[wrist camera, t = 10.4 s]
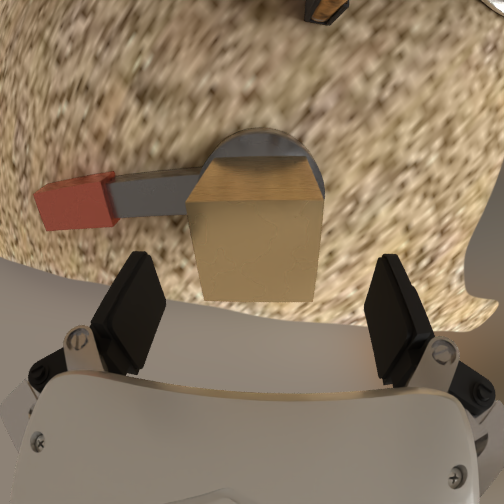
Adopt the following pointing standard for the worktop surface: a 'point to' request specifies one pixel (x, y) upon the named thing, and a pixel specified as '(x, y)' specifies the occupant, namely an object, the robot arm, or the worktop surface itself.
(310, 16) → the ammunition clip
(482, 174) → the worktop surface
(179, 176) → the ratchet
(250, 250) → the wooden block
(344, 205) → the worktop surface
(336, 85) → the worktop surface
